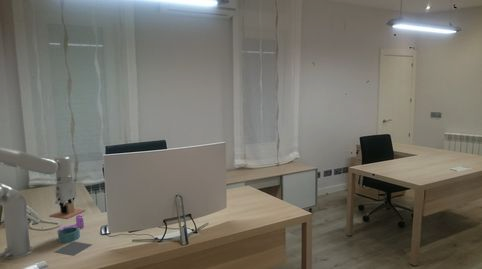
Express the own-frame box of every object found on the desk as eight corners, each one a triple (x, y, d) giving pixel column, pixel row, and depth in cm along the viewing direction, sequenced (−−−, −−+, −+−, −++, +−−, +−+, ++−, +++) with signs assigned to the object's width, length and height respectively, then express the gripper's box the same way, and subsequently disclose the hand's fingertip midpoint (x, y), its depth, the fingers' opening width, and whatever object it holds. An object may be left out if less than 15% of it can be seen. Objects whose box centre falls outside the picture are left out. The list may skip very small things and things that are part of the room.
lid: (67, 219, 179) (66, 208, 178) (49, 216, 183) (48, 206, 182) (85, 211, 190) (84, 201, 190) (67, 209, 194) (67, 199, 194)
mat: (73, 256, 168) (73, 255, 168) (53, 253, 172) (53, 252, 172) (92, 245, 180) (92, 244, 180) (73, 242, 184) (73, 241, 184)
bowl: (69, 244, 182) (68, 235, 181) (54, 241, 185) (53, 233, 184) (83, 236, 191) (83, 228, 191) (69, 234, 195) (68, 226, 194)
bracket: (83, 225, 209) (82, 214, 208) (83, 228, 204) (83, 217, 203) (59, 229, 202) (58, 218, 202) (59, 232, 198) (58, 221, 197)
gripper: (57, 183, 175) (60, 217, 177) (81, 175, 191) (84, 207, 193) (46, 182, 177) (49, 216, 180) (71, 175, 193) (73, 206, 195)
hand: (67, 211), depth 186 cm, fingers closed on lid, 3 cm apart
